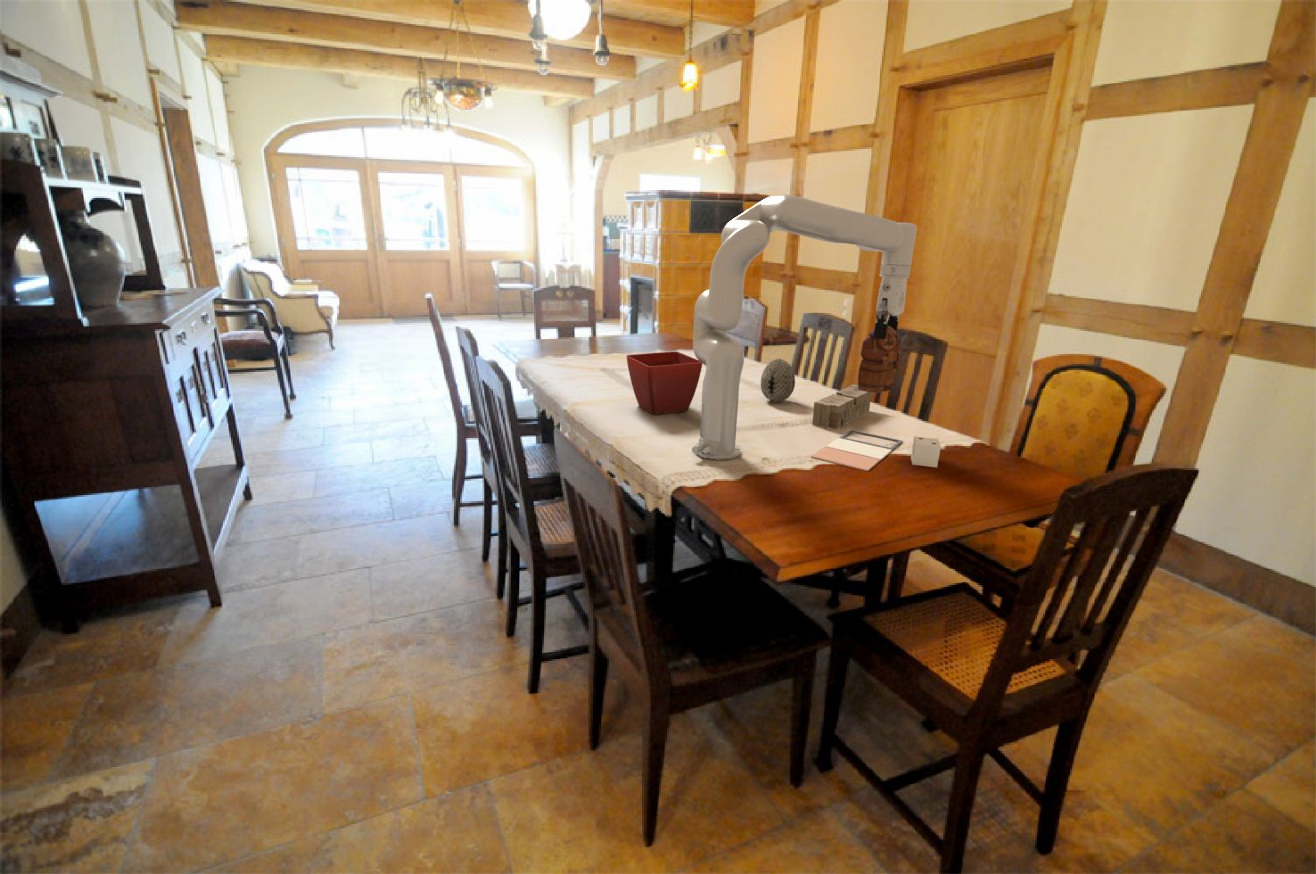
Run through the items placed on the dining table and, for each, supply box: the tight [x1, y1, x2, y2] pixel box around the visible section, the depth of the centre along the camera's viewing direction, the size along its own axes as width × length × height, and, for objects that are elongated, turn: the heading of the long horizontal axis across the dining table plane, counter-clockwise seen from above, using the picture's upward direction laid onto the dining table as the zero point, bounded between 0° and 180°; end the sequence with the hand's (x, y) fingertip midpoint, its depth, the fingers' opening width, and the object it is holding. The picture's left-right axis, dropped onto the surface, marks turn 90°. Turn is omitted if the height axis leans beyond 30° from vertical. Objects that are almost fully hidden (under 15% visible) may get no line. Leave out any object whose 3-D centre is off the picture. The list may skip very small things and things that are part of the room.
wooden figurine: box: [857, 326, 901, 394], centre depth 176 cm, size 12×6×18 cm, turn 124°
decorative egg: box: [760, 358, 796, 403], centre depth 218 cm, size 12×12×15 cm
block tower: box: [811, 384, 874, 429], centre depth 204 cm, size 8×8×29 cm
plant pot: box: [626, 351, 703, 415], centre depth 206 cm, size 19×19×17 cm
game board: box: [810, 429, 904, 472], centre depth 176 cm, size 29×15×1 cm, turn 143°
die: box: [910, 435, 942, 468], centre depth 167 cm, size 6×6×6 cm
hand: (884, 336), depth 174 cm, fingers closed on wooden figurine, 8 cm apart
